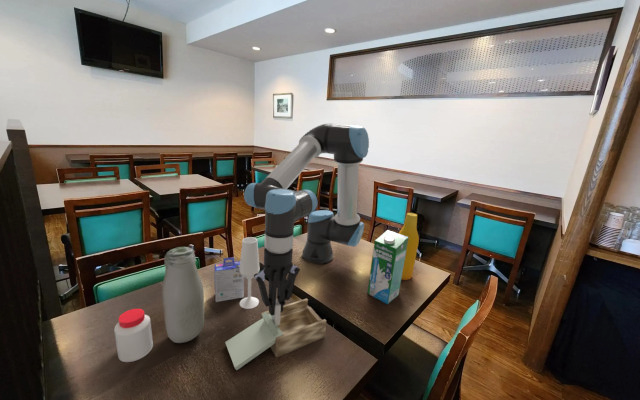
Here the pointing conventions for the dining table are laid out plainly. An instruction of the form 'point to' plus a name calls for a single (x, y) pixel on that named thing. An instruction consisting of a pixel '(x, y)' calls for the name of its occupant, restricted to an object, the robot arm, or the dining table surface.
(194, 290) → the glass bottle
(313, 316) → the box
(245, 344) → the lid
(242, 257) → the champagne flute
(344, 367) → the dining table surface
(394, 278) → the milk carton
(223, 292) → the ink cartridge box
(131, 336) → the pill bottle
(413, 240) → the beer bottle
